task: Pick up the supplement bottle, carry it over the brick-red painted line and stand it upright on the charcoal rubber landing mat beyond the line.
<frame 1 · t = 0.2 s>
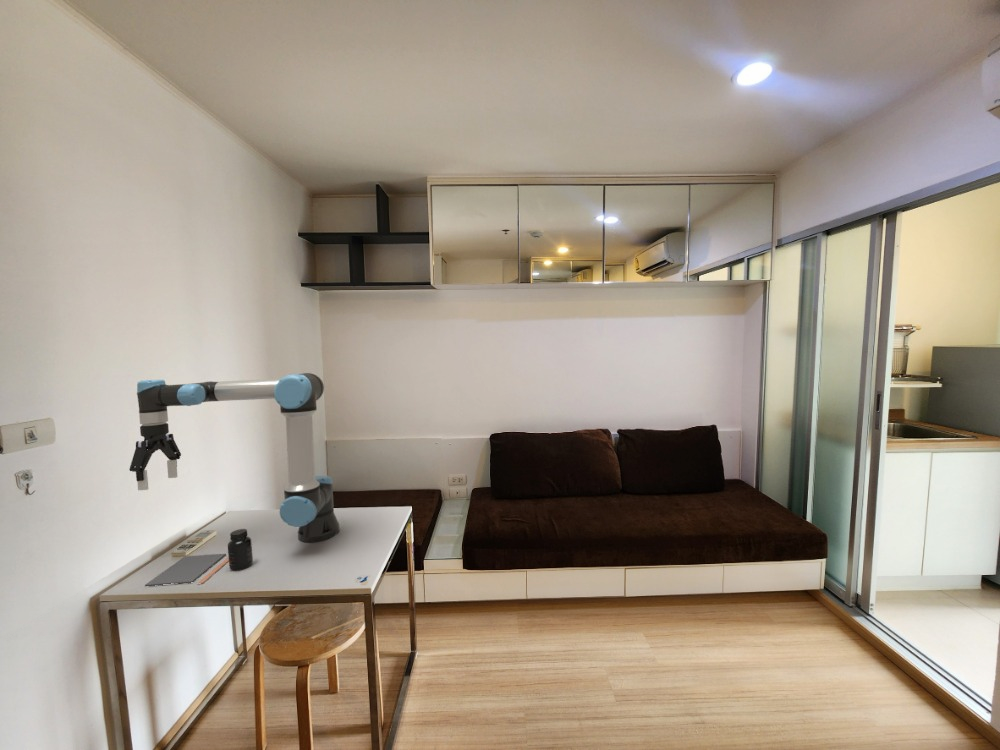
hand: (158, 483, 141), 28 cm above the table, tool pointing down, fingers open, 13 cm apart
supplement bottle: (241, 566, 136), on the table
landing mat: (188, 569, 135), on the table
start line: (219, 567, 136), on the table
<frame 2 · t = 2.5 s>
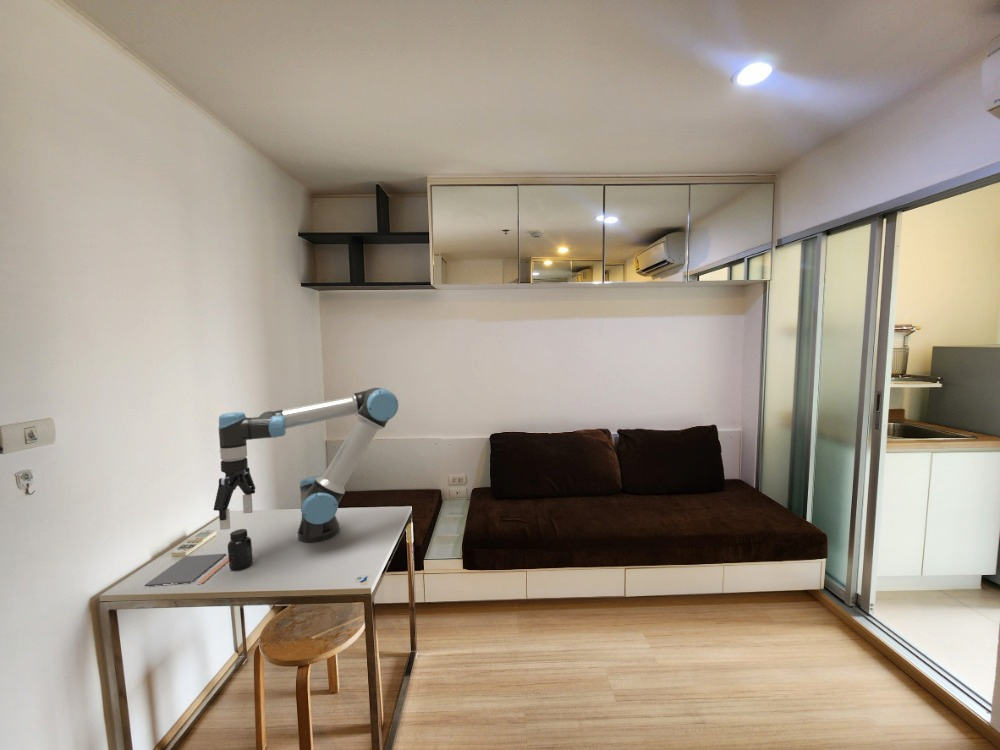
hand: (237, 520, 135), 16 cm above the table, tool pointing down, fingers open, 13 cm apart
nothing on the table moved.
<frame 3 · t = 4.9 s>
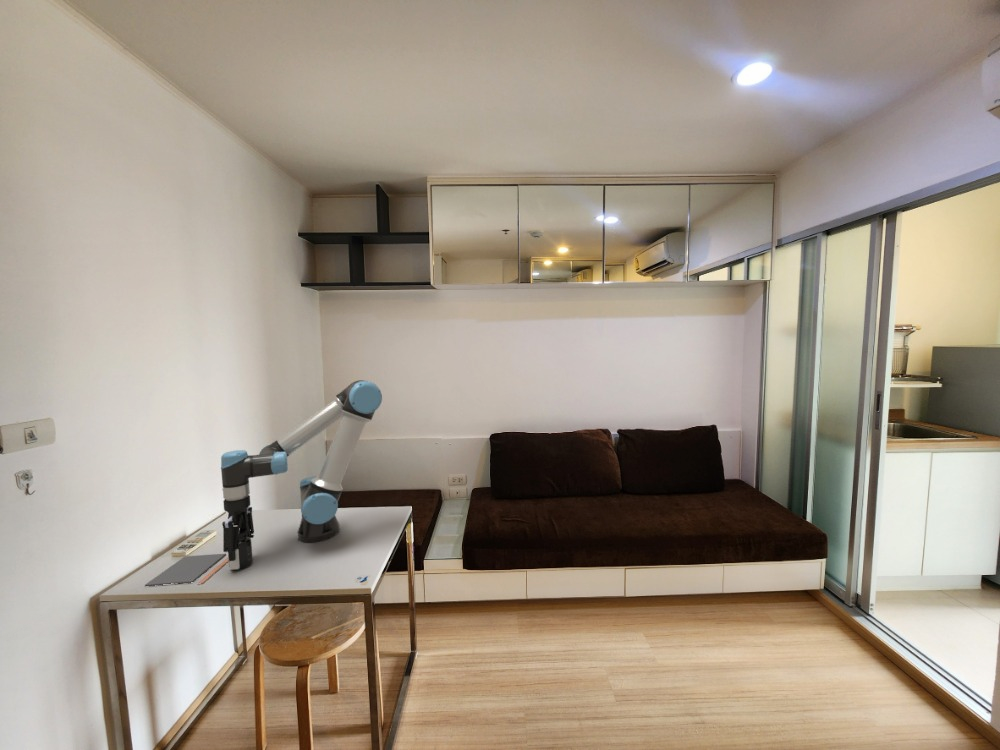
hand: (240, 563, 136), 1 cm above the table, tool pointing down, fingers closed on supplement bottle, 7 cm apart
supplement bottle: (241, 566, 136), on the table, touching gripper
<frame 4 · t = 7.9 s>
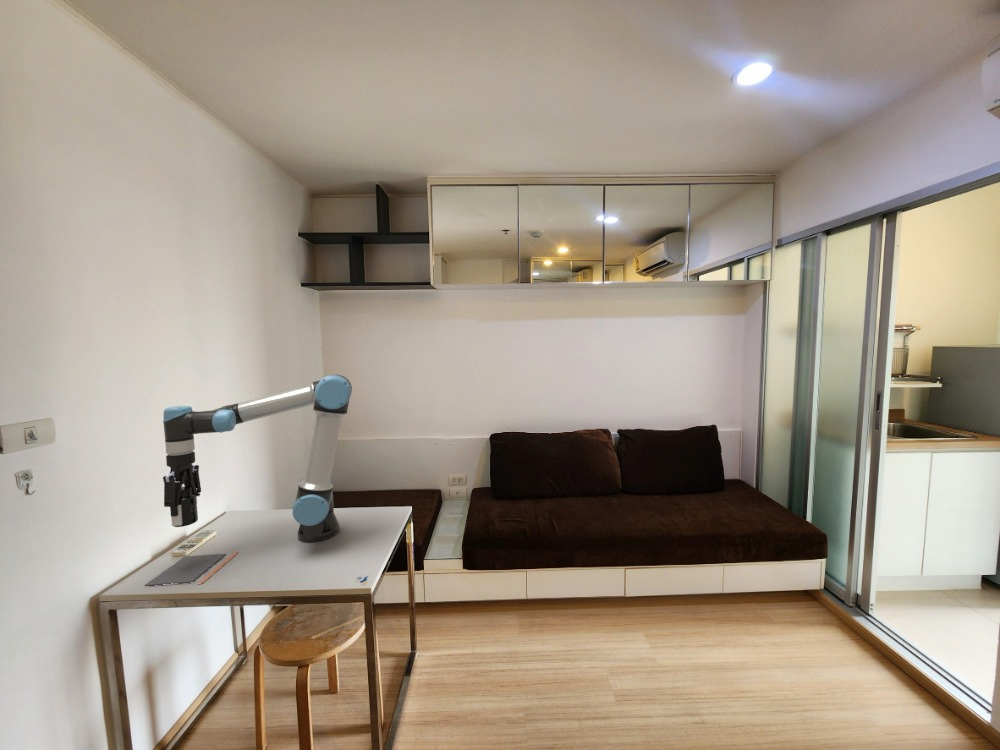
hand: (185, 520, 134), 17 cm above the table, tool pointing down, fingers closed on supplement bottle, 7 cm apart
supplement bottle: (185, 523, 134), point 16 cm above the table, touching gripper
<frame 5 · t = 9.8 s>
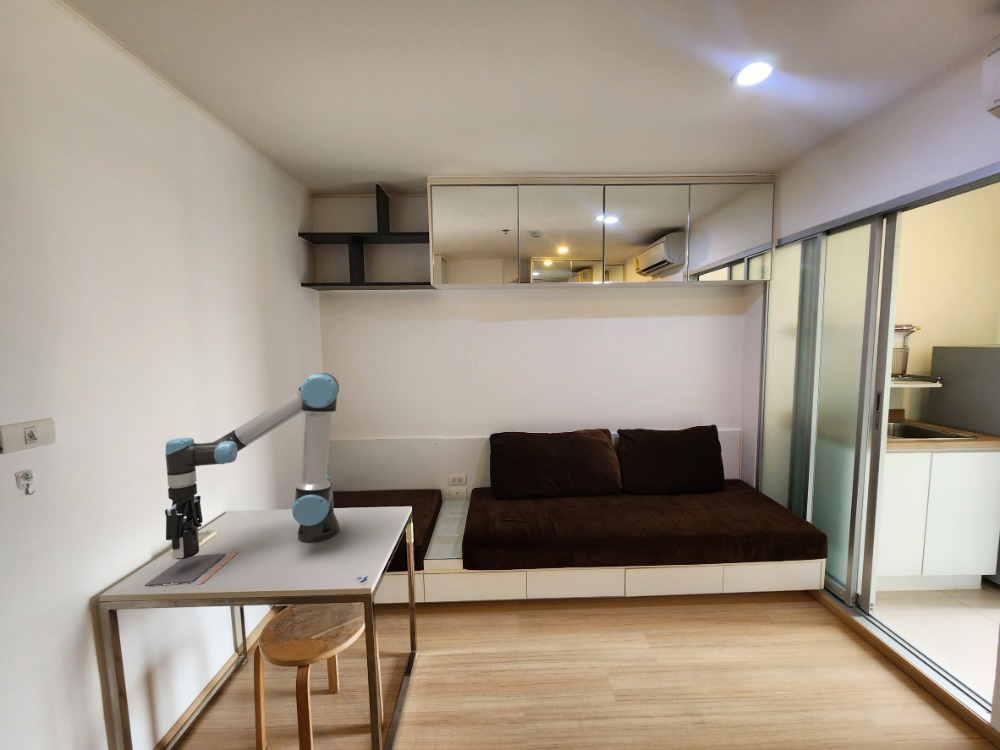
hand: (186, 551, 134), 6 cm above the table, tool pointing down, fingers closed on supplement bottle, 7 cm apart
supplement bottle: (186, 555, 134), point 5 cm above the table, touching gripper
when the fingers open (3 cm above the table, at t = 11.3 s): supplement bottle drops 1 cm, resting on landing mat.
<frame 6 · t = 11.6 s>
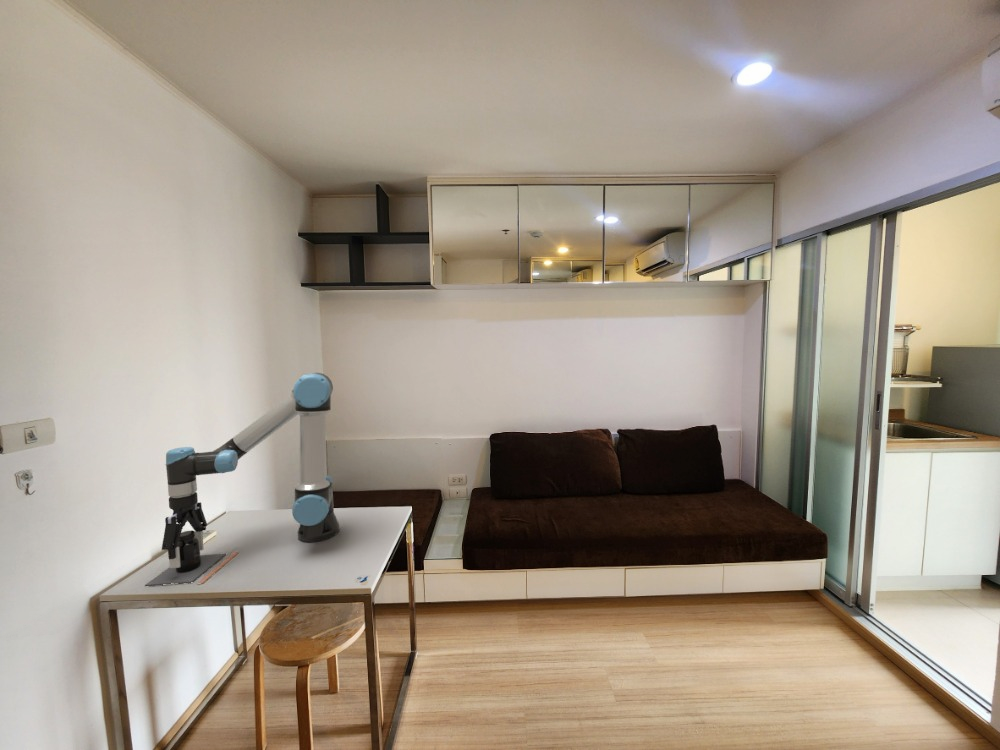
hand: (187, 558, 135), 4 cm above the table, tool pointing down, fingers open, 11 cm apart
supplement bottle: (188, 568, 135), resting on landing mat
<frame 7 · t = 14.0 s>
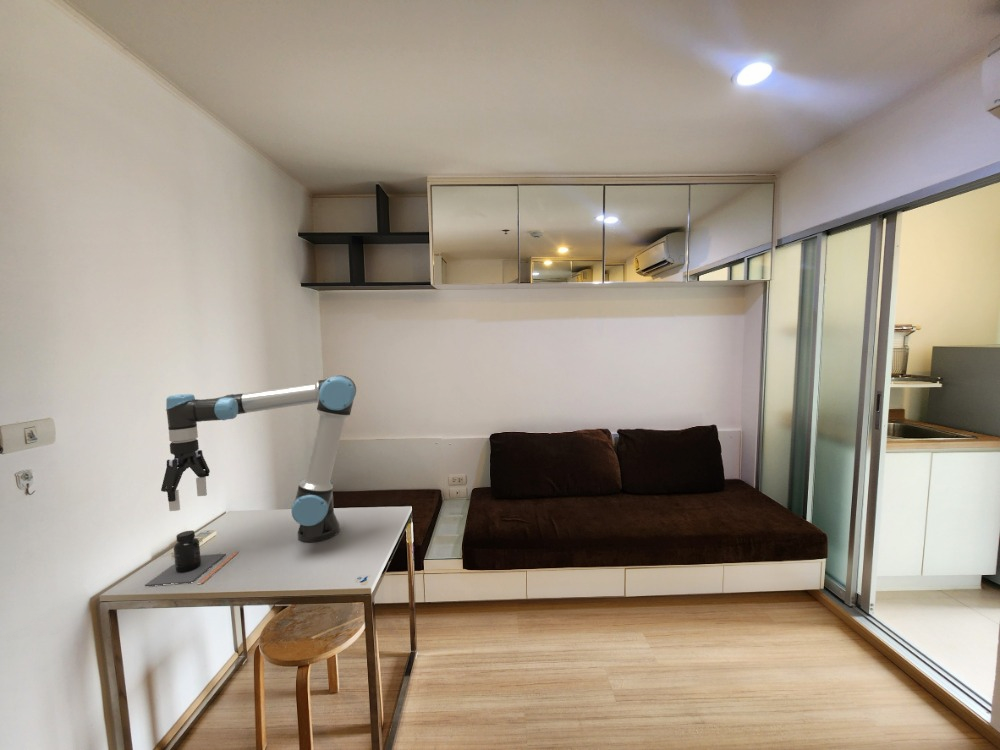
hand: (189, 502, 135), 23 cm above the table, tool pointing down, fingers open, 13 cm apart
nothing on the table moved.
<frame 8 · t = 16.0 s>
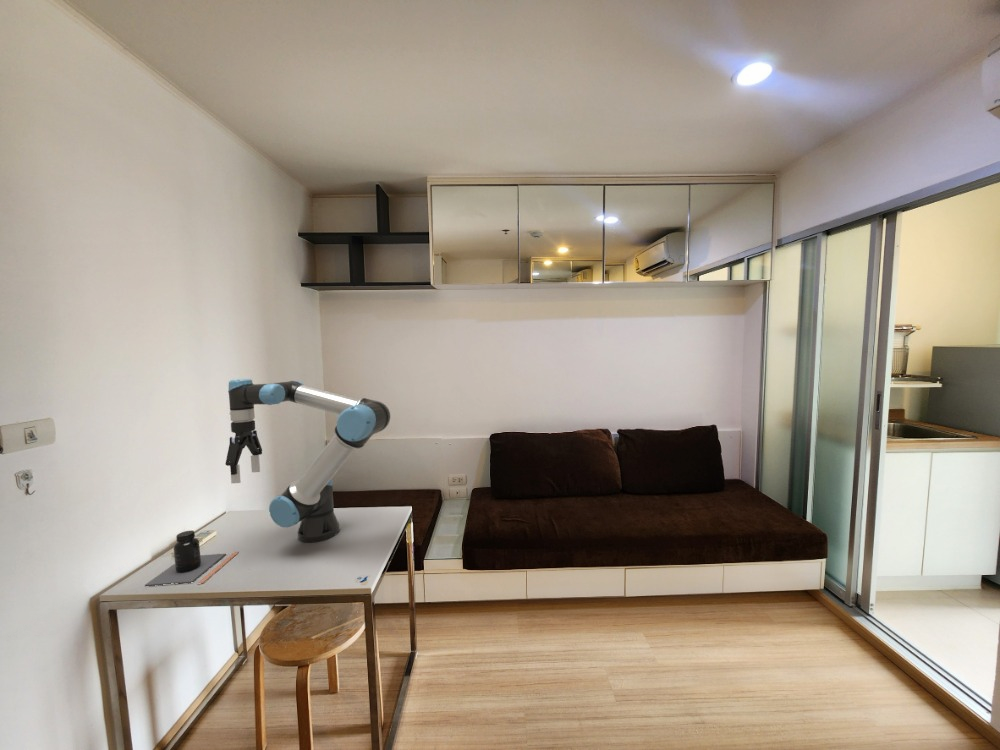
hand: (246, 477, 149), 27 cm above the table, tool pointing down, fingers open, 13 cm apart
nothing on the table moved.
at the end: supplement bottle inside the target area (0.0 cm from its centre), resting on landing mat; supplement bottle tilted 0°; the gripper is holding nothing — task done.
